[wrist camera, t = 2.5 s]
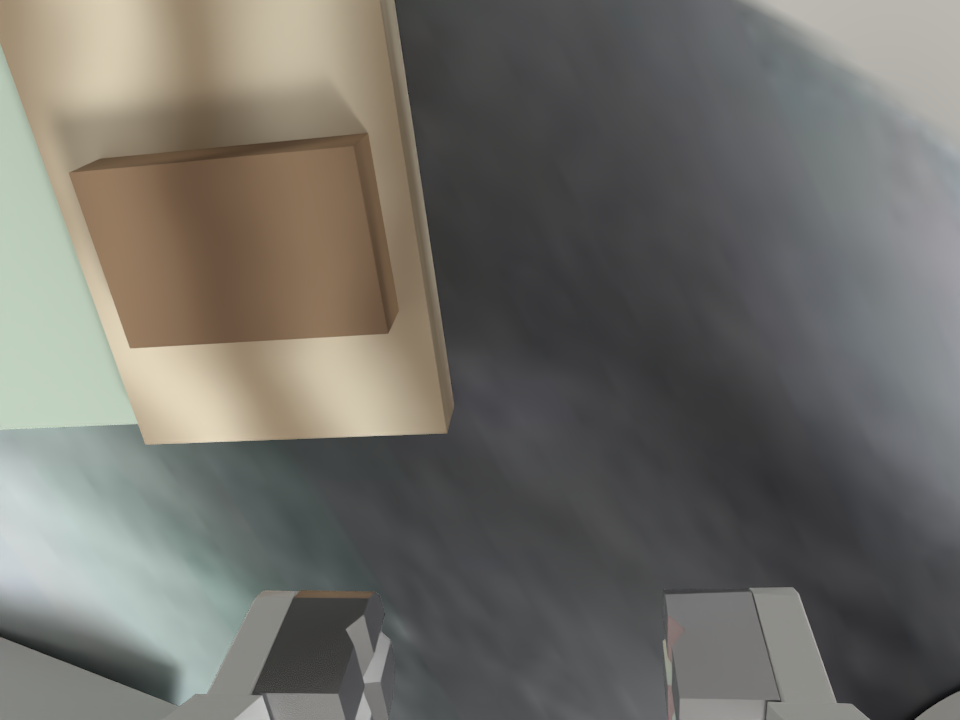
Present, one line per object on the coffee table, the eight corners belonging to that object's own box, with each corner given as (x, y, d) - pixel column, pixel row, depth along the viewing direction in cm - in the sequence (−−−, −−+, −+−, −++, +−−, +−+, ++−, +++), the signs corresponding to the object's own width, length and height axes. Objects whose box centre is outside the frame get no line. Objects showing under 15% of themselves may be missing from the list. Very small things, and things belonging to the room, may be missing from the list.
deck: (386, -54, 24) (371, -54, 22) (454, 405, 31) (446, 433, 29) (24, -7, 25) (-17, -3, 24) (168, 417, 33) (145, 444, 31)
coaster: (368, 133, 24) (353, 145, 23) (399, 310, 27) (387, 333, 26) (99, 158, 26) (68, 172, 24) (154, 325, 28) (130, 348, 27)
